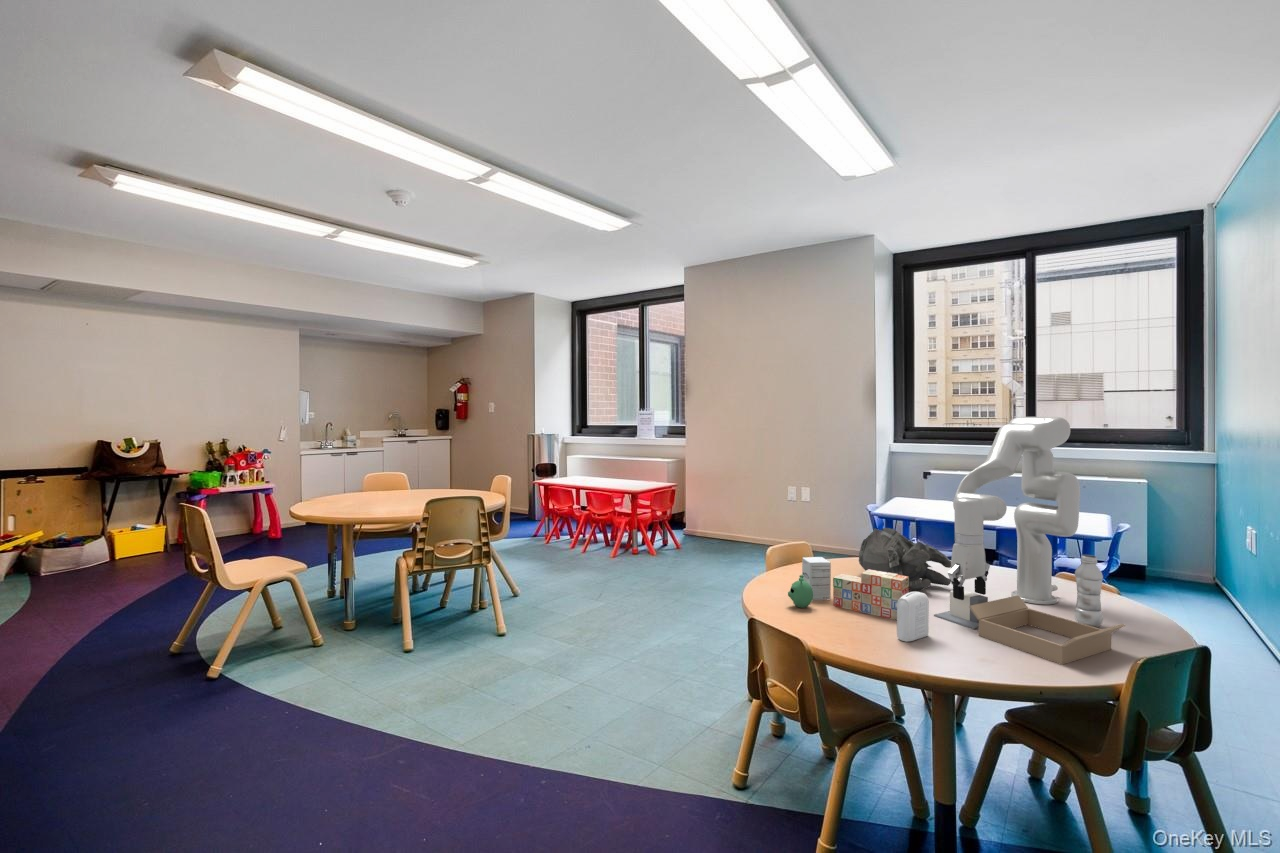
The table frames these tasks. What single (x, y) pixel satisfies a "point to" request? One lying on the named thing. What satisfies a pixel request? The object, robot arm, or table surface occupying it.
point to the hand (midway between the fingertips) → (969, 596)
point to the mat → (957, 620)
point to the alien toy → (801, 593)
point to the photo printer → (912, 616)
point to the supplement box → (817, 576)
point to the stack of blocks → (870, 592)
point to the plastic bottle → (1088, 592)
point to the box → (966, 605)
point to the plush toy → (902, 558)
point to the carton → (1015, 613)
